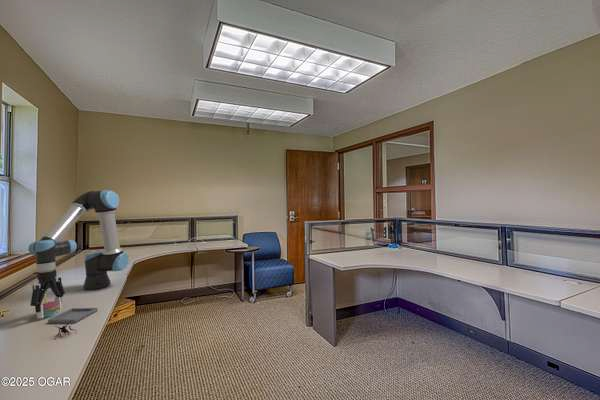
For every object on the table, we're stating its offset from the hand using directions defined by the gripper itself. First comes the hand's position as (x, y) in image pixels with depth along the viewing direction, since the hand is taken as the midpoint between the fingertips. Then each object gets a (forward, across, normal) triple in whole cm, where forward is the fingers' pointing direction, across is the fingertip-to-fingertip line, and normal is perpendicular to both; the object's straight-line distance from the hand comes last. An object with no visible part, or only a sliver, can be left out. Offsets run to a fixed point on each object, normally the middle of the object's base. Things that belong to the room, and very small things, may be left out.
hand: (49, 313), depth 150 cm
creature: (+1, +21, +28) cm, 35 cm away
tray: (+1, +2, +15) cm, 15 cm away
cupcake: (+1, 0, 0) cm, 1 cm away
